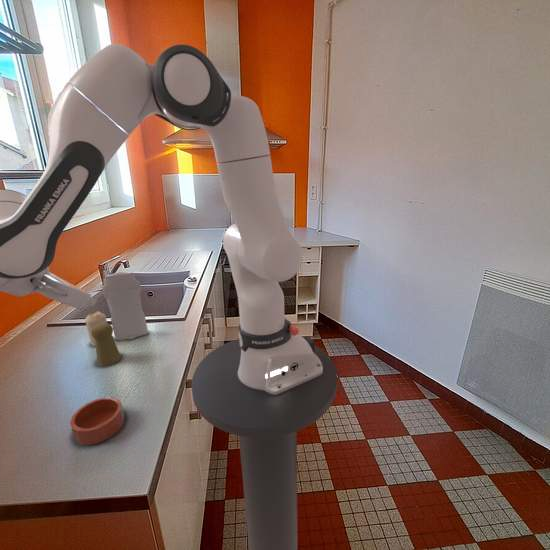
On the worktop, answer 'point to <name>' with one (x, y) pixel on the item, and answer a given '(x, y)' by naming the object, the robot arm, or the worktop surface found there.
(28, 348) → the worktop surface
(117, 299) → the grey tall flat block
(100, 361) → the cork
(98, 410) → the holder
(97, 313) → the candle
